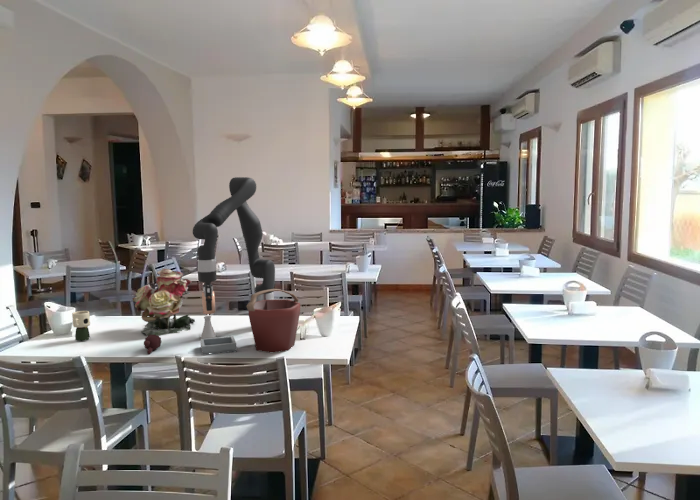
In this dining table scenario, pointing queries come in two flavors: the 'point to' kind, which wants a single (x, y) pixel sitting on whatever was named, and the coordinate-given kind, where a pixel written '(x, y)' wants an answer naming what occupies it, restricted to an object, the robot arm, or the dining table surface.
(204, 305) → the terracotta cup
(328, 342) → the dining table surface
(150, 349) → the icecream
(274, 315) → the bucket
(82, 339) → the character mug
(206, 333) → the flask
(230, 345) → the slate tray
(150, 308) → the rose bouquet
